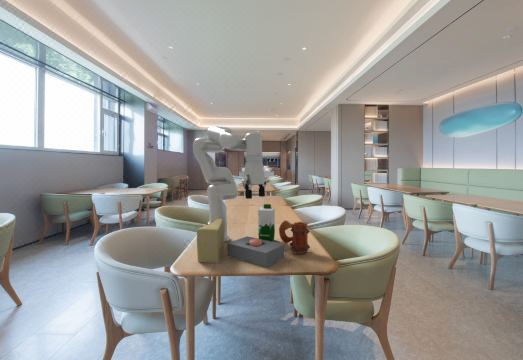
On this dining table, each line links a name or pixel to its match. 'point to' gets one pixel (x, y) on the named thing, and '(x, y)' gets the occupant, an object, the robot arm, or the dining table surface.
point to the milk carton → (266, 223)
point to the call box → (256, 251)
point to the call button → (255, 242)
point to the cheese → (210, 242)
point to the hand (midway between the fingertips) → (255, 197)
